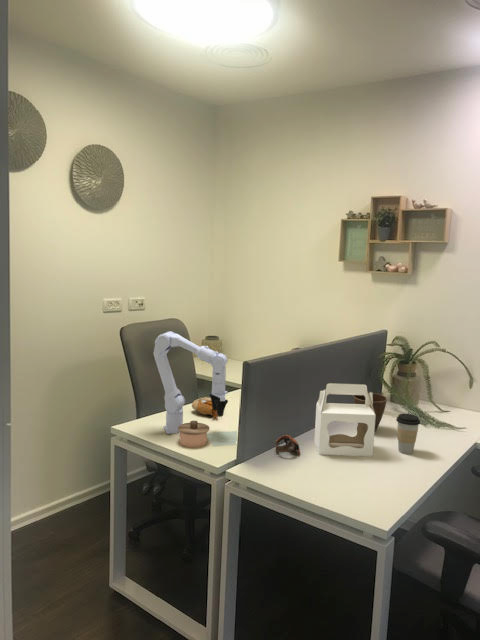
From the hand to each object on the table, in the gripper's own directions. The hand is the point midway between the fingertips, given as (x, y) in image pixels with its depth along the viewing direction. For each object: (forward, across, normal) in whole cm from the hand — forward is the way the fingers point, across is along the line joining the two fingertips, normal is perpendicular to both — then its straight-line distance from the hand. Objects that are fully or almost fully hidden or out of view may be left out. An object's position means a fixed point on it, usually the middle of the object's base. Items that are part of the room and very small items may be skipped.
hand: (217, 412), depth 219 cm
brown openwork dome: (+11, -24, -23) cm, 35 cm away
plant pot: (+11, -8, -70) cm, 71 cm away
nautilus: (+11, +28, -3) cm, 30 cm away
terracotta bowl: (+10, -6, +12) cm, 17 cm away
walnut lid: (+4, -6, +12) cm, 14 cm away
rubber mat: (+10, -5, -2) cm, 12 cm away
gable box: (+11, -26, -47) cm, 55 cm away
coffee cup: (+11, -34, -72) cm, 80 cm away
